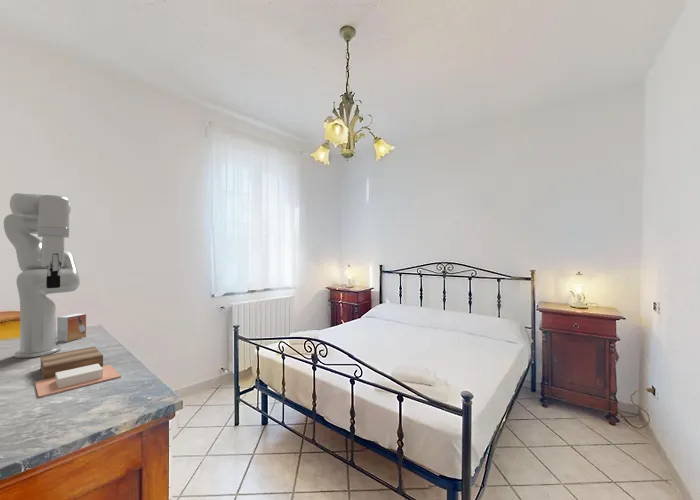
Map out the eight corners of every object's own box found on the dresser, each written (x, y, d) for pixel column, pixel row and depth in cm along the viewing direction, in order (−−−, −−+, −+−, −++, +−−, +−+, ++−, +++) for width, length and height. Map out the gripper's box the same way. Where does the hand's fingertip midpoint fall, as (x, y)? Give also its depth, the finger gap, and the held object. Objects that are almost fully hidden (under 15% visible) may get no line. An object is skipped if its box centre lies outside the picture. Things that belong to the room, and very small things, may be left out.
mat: (34, 382, 92) (34, 381, 92) (110, 365, 105) (110, 364, 105) (38, 397, 83) (38, 396, 83) (121, 377, 96) (121, 375, 96)
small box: (67, 342, 132) (67, 317, 132) (56, 341, 133) (56, 316, 133) (86, 337, 140) (86, 313, 140) (76, 336, 141) (76, 313, 141)
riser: (40, 368, 103) (40, 356, 103) (94, 357, 113) (94, 346, 113) (44, 380, 94) (44, 367, 94) (103, 367, 104) (103, 355, 104)
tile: (58, 379, 87) (58, 388, 87) (103, 369, 95) (103, 377, 95) (55, 372, 92) (55, 381, 92) (98, 363, 100) (98, 371, 100)
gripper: (36, 232, 106) (35, 285, 107) (40, 232, 96) (39, 291, 97) (65, 233, 112) (65, 284, 112) (72, 233, 102) (71, 289, 102)
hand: (53, 287), depth 105 cm, fingers closed
